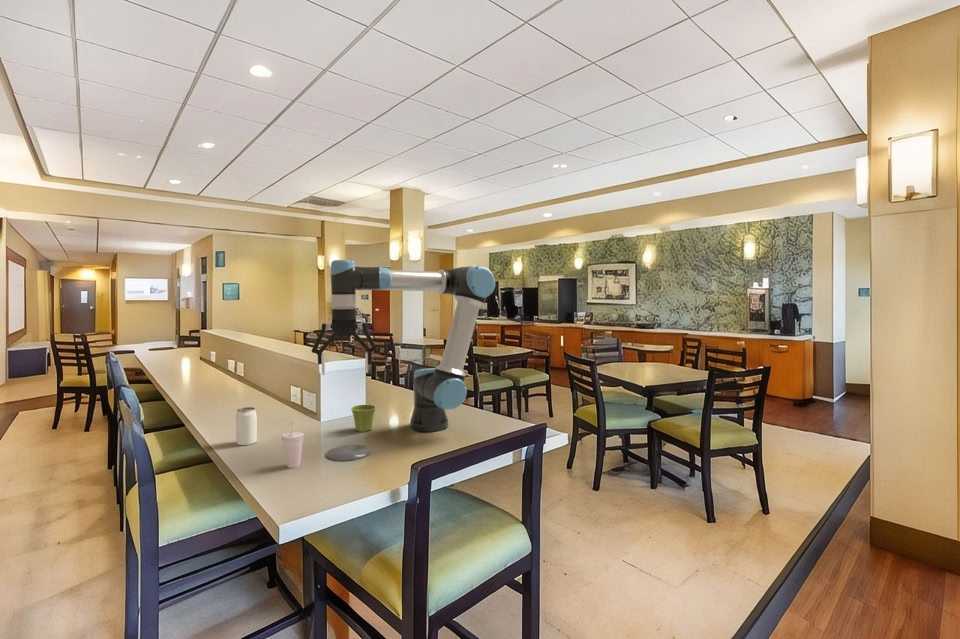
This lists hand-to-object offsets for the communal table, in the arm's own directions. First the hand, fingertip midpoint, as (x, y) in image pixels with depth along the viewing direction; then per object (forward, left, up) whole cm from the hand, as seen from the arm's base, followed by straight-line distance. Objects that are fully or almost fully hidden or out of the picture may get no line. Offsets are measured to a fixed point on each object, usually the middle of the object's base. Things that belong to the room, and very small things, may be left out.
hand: (345, 373), depth 151 cm
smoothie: (+15, +8, -27) cm, 32 cm away
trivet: (-1, +1, -27) cm, 27 cm away
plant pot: (-6, -25, -27) cm, 37 cm away
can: (+34, -19, -27) cm, 48 cm away
